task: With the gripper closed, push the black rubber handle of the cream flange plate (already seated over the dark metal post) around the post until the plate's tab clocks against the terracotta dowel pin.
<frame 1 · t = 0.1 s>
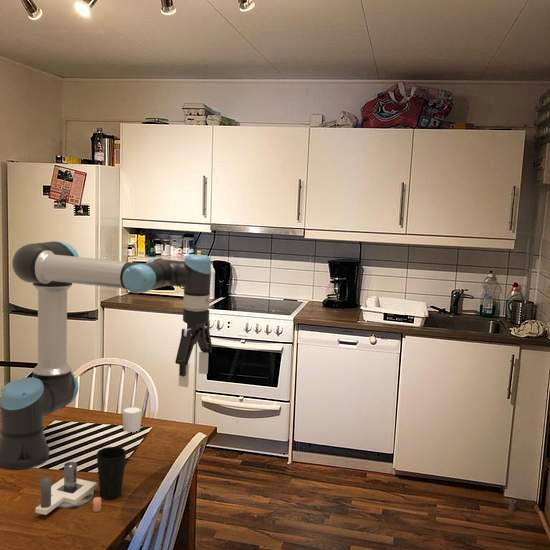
hand: (193, 379, 176), 28 cm above the table, fingers open, 13 cm apart
base: (70, 496, 161), on the table
white cylinder: (131, 429, 207), on the table
dowel: (97, 509, 155), on the table
cup: (110, 495, 163), on the table
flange: (62, 483, 157), point 5 cm above the table, hinge at 0.0°
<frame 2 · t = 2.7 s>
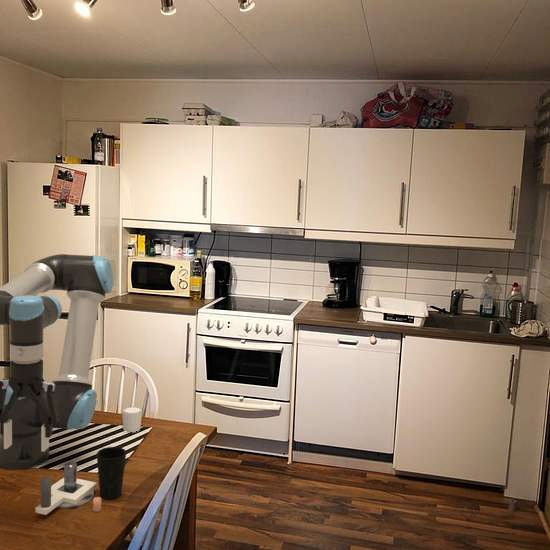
hand: (26, 447, 149), 17 cm above the table, fingers open, 9 cm apart
nothing on the table moved.
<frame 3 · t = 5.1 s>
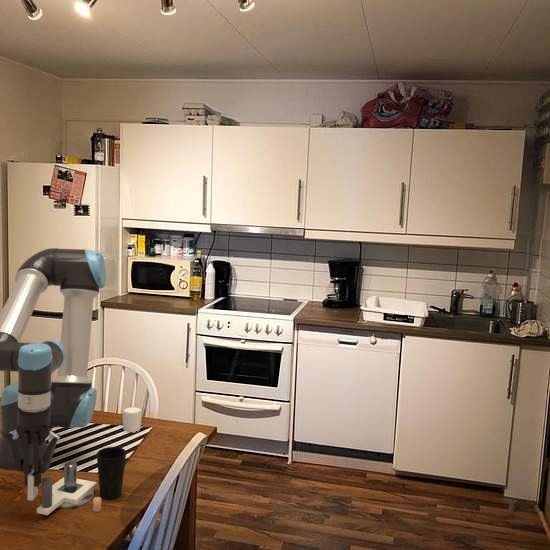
hand: (32, 497, 151), 5 cm above the table, fingers closed
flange: (62, 483, 157), point 5 cm above the table, hinge at 2.0°, touching gripper
everything else where it was.
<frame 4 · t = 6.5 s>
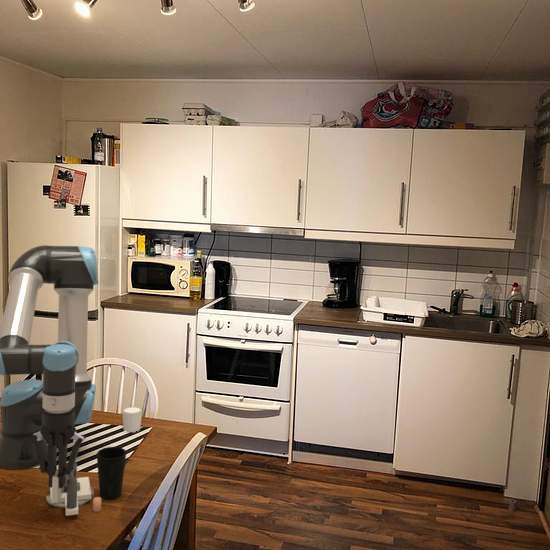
hand: (56, 499, 150), 5 cm above the table, fingers closed
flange: (70, 483, 157), point 5 cm above the table, hinge at 37.7°, touching gripper
everything else where it was.
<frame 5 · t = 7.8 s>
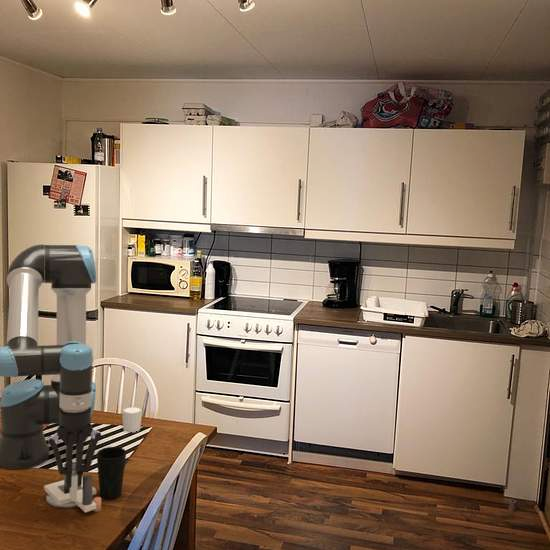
hand: (73, 498, 151), 5 cm above the table, fingers closed
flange: (76, 482, 158), point 5 cm above the table, hinge at 59.8°, touching dowel, gripper
everything else where it was.
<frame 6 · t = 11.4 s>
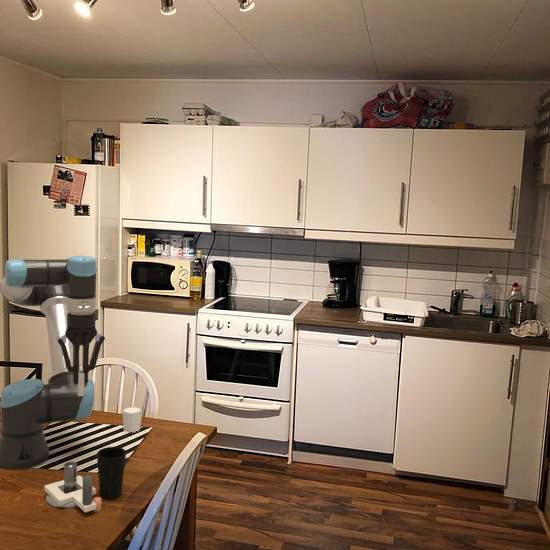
hand: (80, 394, 169), 24 cm above the table, fingers closed
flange: (76, 482, 158), point 5 cm above the table, hinge at 59.8°, touching dowel
everything else where it was.
at the end: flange at +60° (first picture: +0°); the gripper is holding nothing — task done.
